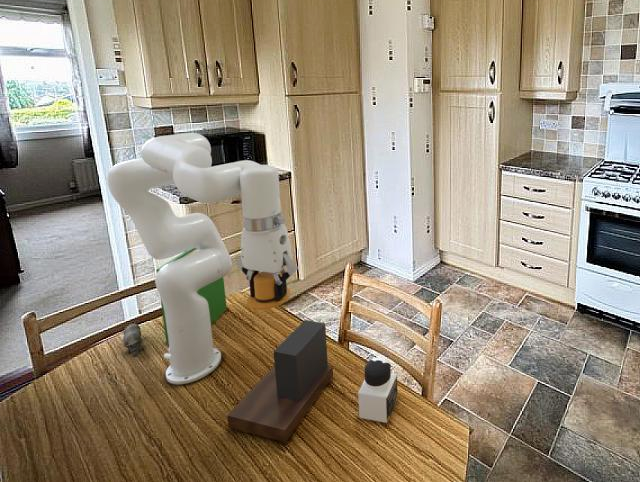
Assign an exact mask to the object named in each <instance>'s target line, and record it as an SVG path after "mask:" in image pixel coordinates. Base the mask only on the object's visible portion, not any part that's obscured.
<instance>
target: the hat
mask: <svg viewBox="0 0 640 482" xmlns="http://www.w3.org/2000/svg"><path fill="white" fill-rule="evenodd" d="M279 274H280V277H281V276H282V275H281V272H279ZM275 284H276V281H275V278H274V276H273V273H270V272H262V271H260V272H259V273H258V274H257V275H256V276H255V277H254V289H255V297H251V295H248V297H247V298H246V306H247V307H248V308H249V309H251V310H254V311H265V310H270V309H274V308H276V307H279V306H281V305H283V304H284V303H286V302H287V301H288V300H289V299H290V297H291V289H290V288H289V287H287V294H286V295H285V296H284V297H283V298H282V299H281V300H279V301H276V300H275V290H274V285H275Z"/></svg>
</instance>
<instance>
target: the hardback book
mask: <svg viewBox="0 0 640 482" xmlns="http://www.w3.org/2000/svg"><path fill="white" fill-rule="evenodd" d="M195 252H198V250H197V248H193V249H190V250H188V251H185V252H183V253H180V254H178V255H176V256H175V257H174V258H172V259H171V260H169V261H167V262H166V263H164V264H163V265H161V266H159V267H157V268H156V274H157V273H158V271H159V270H160V269H161V268H163V267H164V266H165V265H167V264H169V263H171V262H173V261H175V260H178V259H180V258H182V257H185V256H187V255H190V254H193V253H195ZM225 288H226V287H225V278H224V277H222V278H220V279H218V280H216V281H214V282H212V283H210V284H208V285H206V286H204V287H203V288H201V289H199V290H198V291H197V294H199V295H201V296H203V297H204V298H205V299H206V300H207V302H208V305H209V313H210V322H211V325H212V324H213V323H214V322H215V321H216V320H217V319H218V318H219V317H220V316H221V315H222V314H224V312H226V310H227V309H228V308H227V297H226V289H225ZM159 298H160V299H159V300H160V306H161V312H162V313H161V314H162V320H163V327H164V334H165V335H164V336H165V341H166V345H167V344H168V345H169V340H168V333H167V325H166V319H165V312H164V307H163V303H162V300H161V297H160V296H159Z"/></svg>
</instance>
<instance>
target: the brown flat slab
mask: <svg viewBox="0 0 640 482" xmlns="http://www.w3.org/2000/svg"><path fill="white" fill-rule="evenodd" d="M333 377H334V366H333V365H332V364H328V365H327V366H326V367H325V369H324V370H323V371H322V373H321V374H320V375H319V376H318V378H317V379H316V380H315V382H314V383H313V384H312V386H311V387H310V388H309V390H308V391H307V392H306V393H305V395H304V396H303V397H302V399H301V400H300V401H295V400H290V399H286V398H282V397H277V387H276V375H275V364H274V365H273V366H272V367H271V369H269V370H268V372H266V373H265V375H264V376H262V378H261V379H260V380H259V381H258V382H257V383H256V384H255V385H254V386H253V387H252V388H251V389H250V391H248V393H246V395H245V396H244V397H243V398H242V399H241V400H240V401H239V402H238V403H237V404H236V405H235V406H234V407H233V408H232V410H230V412H229V413H228V414H227V415H226V417H227V425H228V428H232V430H234V431H235V430H236V431H239V432H242V433H247V434H249V435H254V436H257V437H262V438H265V439H269V440H273V441H277V442H280V443H284V444H286V443H287V442H288V441H289V439H290V438H291V437H292V434H293V433H294V431H295V430H296V428H297V427H298V426H299V424H300V423H301V421H302V420H303V419H304V417H305V416H306V415H307V413H308V412H309V410H310V409H311V408H312V406H313V405H314V403H315V402H316V401H317V399H318V398H319V396H320V395H321V394H322V392H323V391H324V389H325V388H326V387H327V386H328V385H329V383H331V381H332V379H333Z"/></svg>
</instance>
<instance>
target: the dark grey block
mask: <svg viewBox="0 0 640 482" xmlns="http://www.w3.org/2000/svg"><path fill="white" fill-rule="evenodd" d="M327 345H328V344H327V331H326V323H324V322H319V321H314V320H307V319H304V320H303V321H302V322H301V323H300V324H299V325H298V326H297V327H296V328H295V329H294V330H293V331H292V332H291V333H290V334H289V335H288V336H287V337H286V338H285V339H284V340H283V341H282V342H281V343H280V344H279V345H278V346H277V347H276V348H275V349H274V350H273V361H274V362H273V363H274V365H275V375H276V387H277V397H282V398H286V399H290V400H295V401H300V400H301V399H302V397H303V396H304V395H305V393H306V392H307V391H308V390H309V388H310V387H311V386H312V384H313V383H314V382H315V380H316V379H317V378H318V376H319V375H320V374H321V373H322V371H323V370H324V369H325V367H326V366H327V365H329V364H328V363H329V362H328V361H329V360H328V348H327V347H328V346H327Z"/></svg>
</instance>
